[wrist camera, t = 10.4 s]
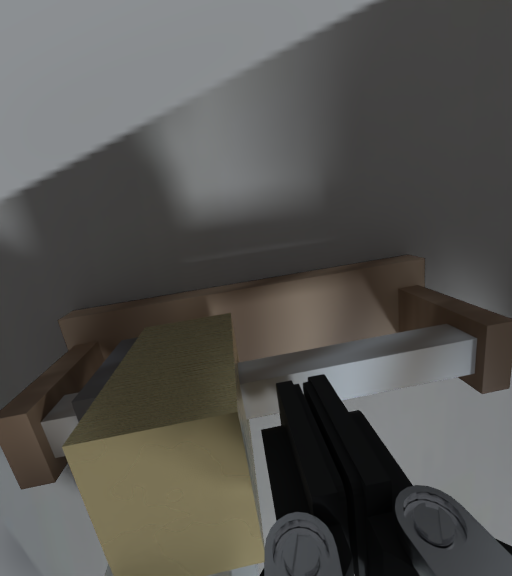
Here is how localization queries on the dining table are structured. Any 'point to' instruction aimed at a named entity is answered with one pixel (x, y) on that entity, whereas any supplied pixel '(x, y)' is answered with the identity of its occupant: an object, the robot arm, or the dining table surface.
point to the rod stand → (272, 347)
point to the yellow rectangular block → (171, 456)
